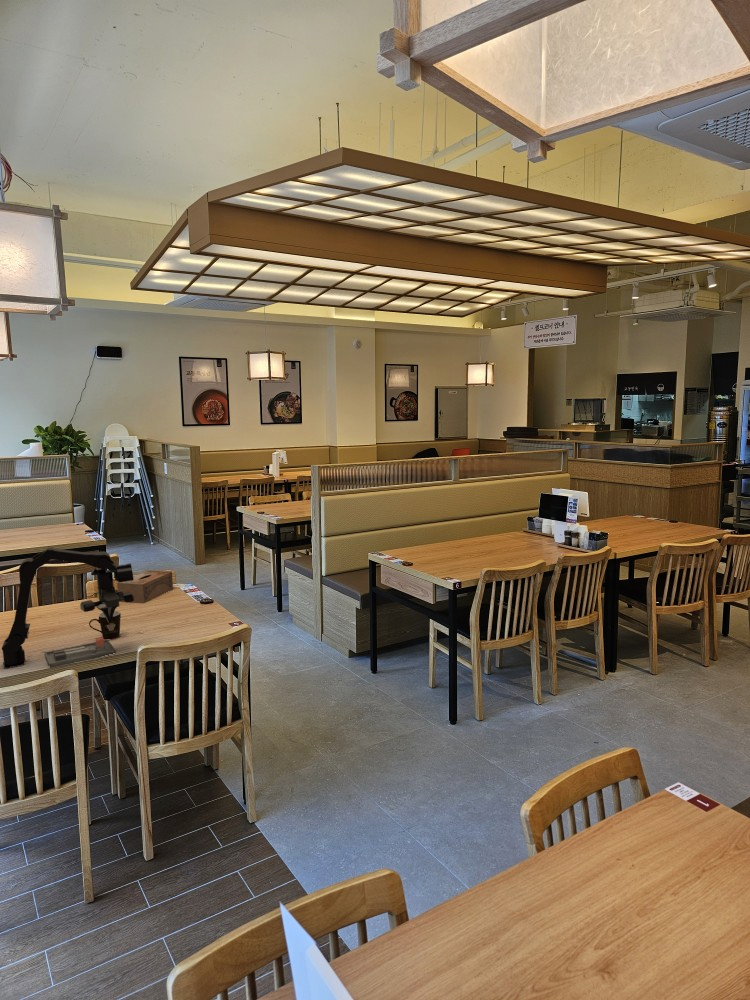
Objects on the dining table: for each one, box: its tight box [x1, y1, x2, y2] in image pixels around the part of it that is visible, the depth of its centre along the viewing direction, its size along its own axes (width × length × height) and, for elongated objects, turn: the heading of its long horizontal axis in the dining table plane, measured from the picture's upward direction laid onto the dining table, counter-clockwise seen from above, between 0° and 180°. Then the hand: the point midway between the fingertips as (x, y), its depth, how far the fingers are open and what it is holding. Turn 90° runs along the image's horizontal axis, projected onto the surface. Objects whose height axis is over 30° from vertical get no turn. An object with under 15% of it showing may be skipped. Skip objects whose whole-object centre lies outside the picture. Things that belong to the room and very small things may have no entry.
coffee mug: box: [88, 610, 122, 640], centre depth 260 cm, size 12×9×10 cm
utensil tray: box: [43, 639, 117, 669], centre depth 241 cm, size 23×14×2 cm, turn 125°
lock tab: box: [95, 636, 105, 647], centre depth 243 cm, size 2×4×2 cm, turn 35°
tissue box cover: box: [116, 569, 174, 605], centre depth 321 cm, size 26×14×10 cm, turn 165°
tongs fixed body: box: [55, 645, 105, 661], centre depth 239 cm, size 18×4×2 cm, turn 125°
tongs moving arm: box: [54, 646, 85, 659], centre depth 239 cm, size 11×2×2 cm, turn 122°
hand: (109, 622), depth 245 cm, fingers closed
